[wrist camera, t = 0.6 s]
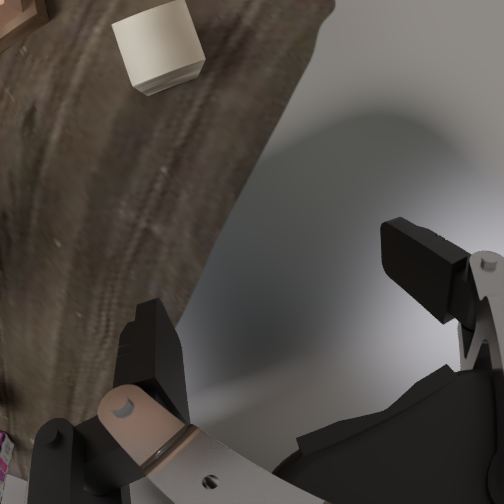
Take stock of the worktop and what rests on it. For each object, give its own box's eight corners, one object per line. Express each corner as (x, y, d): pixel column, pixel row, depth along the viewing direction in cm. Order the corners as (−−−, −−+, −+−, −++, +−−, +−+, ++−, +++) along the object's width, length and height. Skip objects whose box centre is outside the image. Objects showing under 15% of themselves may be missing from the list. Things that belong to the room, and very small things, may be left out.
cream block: (147, 96, 26) (132, 86, 17) (132, 51, 24) (111, 24, 15) (197, 77, 26) (205, 59, 18) (181, 33, 24) (183, -2, 15)
